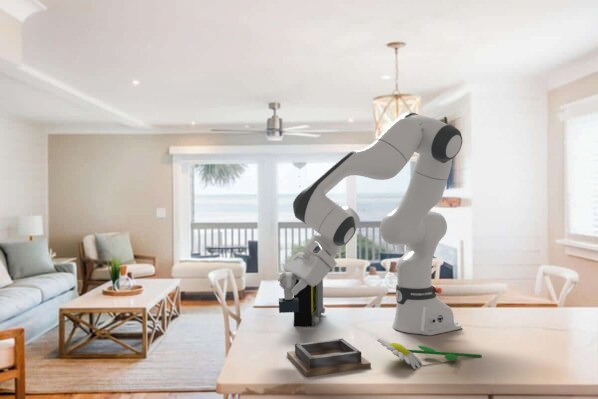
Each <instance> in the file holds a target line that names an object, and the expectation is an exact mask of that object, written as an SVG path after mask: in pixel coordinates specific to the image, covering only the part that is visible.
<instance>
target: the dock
mask: <svg viewBox="0 0 598 399" xmlns="http://www.w3.org/2000/svg"><path fill="white" fill-rule="evenodd" d="M286 356H287V357H288V359H289V360H290V361H291V362H292V363H293V365H295V366H296V367H297V368H298V370H299V371H300V372H301V373H302V374H303V375H304V376H305V378H307V377H314V376H321V375H329V373H330V374H335V373H336V372H337V373H342V372H350V371H357V370H365V369H369V368H371V367H372V364H371V361H369V360H368V359H366V358H364V357H363V356H362V351H360V350H359V349H358V348H357V347H355V346H353V345H352V344H350V343H349V342H348V341H347V340H345V339H344V338H335V339H326V340H320V341H319V340H318V341H311V342H304V343H295V345H294V350H291V351H286Z"/></svg>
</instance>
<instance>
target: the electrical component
mask: <svg viewBox="0 0 598 399" xmlns="http://www.w3.org/2000/svg"><path fill="white" fill-rule="evenodd" d="M323 282H324V278H323V279H322V280H321V281H320V282H319V283H318V284H317V285H316V286H314V287H312V286H310V285H307V286H306V287H305V288H303V289H302V290H300V291H299V292H298V293H297V294H296V295H294V294H293V298H298V301H299V312H293V327H296V328H297V327H300V328H313V327H315V325H316V324H319V323H320V316H321V315H322V314H325V313H326V308H325V306H324V283H323ZM297 283H299V280H298V279H296V283H295V285H296V284H297ZM295 285H294V286H295Z"/></svg>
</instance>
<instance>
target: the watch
mask: <svg viewBox="0 0 598 399" xmlns="http://www.w3.org/2000/svg"><path fill="white" fill-rule="evenodd" d="M277 281H278V282H279V284H281V286H282V287H281V286H280V287H281V289H283V294H284V295H283V296H284V298H282V297H281V298H278V313H280V314H281V313H282V314H285V313H286V314H288V313H294V312H299V301H298V298H294V294H292V293H291V292H290V289H291V288H292V287H293V286H294V285H295V283H296V276H295V275H294V274H293V272H286V271H284V272H282V273H281V274H280V276H279V278H278V279H277Z"/></svg>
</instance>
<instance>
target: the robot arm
mask: <svg viewBox="0 0 598 399" xmlns="http://www.w3.org/2000/svg"><path fill="white" fill-rule="evenodd" d="M462 145H463V137H462V133H461V131H460V130H459V129H458V128H456V127H455V126H454V125H452V124H447V123H445V122H443V121H441V120H439V119H437V118H434V117H429V116H424V115H420V114H418V113H415V112H405V113H402V114H401V115H399V116H398V117H397V119H396V120H394V121H392V123H391V124H389V125H388V126H387V127H386V128H385V129H384V130H383V131H382V132H381V133H380V135H378V136H377V138H376V139H375V140H374V141H373V142H372V143H371V144H370V145H368V146H366V147H365V148H363V149H359V150H358V149H354V150H352V151H350V152H348V153H347V154H346V155H344V156H343V157H341V159H340V160H338V161H337V162H336V163H335V164H333V165H332V167H330V169H328V170H327V171H326V172H324V174H323V175H321V176H319V178H318V179H317V180H315V181H314V182H313V183H312V184H310V185H309V186H307V187H306V188H305V189H303V190H301V192H299V194H298V195H297V196H296V197H295V199H294V200H293V202H292V209H293V214H294V217H295V219H297V220H299V221H301V222H302V223H303V224H306V225H308V226H309V227H310V228H311V229H312V230H314V231H315V232H316V233H315V234H313V236H311V238H310V239H308V241H307V242H306V244H305V245H304V246H303V247H302V250H303V251H299V252H297V253H296V254H294V255H293V257H291V259H290V260H289V261H288V262H287V263H286V264H285V265H284V268H283V271H284V272H293V274H294V275H295V276H296V279H298V280H299V283H297V284H296V285H295V286H293V287H292V288H291V289H290V292H291V293H292V294H293V296H294V295H296V294H297V293H298V292H299V291H300V290H302V289H303V288H305V287H306V286H307V285H310V286H312V287H314V286H316V285H317V284H318V283H319V282H320V281H321V280H322V279H323V280H324V278H325V277H326V276H327V275H328V274H329V272H330V271H331V270H334V268H335V267H336V266H337V265H338V264H337V261H336V260H335V258H336V256H337V254H338V253H339V251H340V250H341V249H342V248H343V247H344V246H345V245H347V244H348V243H349V242H350V241H351V239H353V237H354V235H355V234H356V231H357V229H358V227H359V226H360V223H361V219H360V216H359V215H358V213H357V212H356V211H355V210H354V209H353V208H351V207H350V206H346V205H343V206H340V205H339V204H337V203H336V202H334V201H333V200H332V199H330V198H329V197H328V196H327V194H328V193H329V192H330V191H331V190H332V189H333V188H335V187H336V186H337V185H338V184H339V183H340V182H341V181H343V180H344V179H345V178H347V177H350V176H360V177H363V178H364V177H365V178H368V179H373V180H377V181H383V180H384V181H385V180H390V179H393V178H394V177H396V176H397V175H398V174H399V173H401V171H402V170H403V169H404V167H406V165H407V164H408V163H409V161H410V159H411V158H412V157H413V155H414V153H417V154H418V156H417V159H416V162H415V165H414V167H413V171H412V174H411V178H410V180H409V183H408V187H407V189H406V191H405V193H404V195H403V197H402V198H401V199H400V201H399V202H398V204H397V205H396V206H395V208H394V209H393V210H392V211H390V212H389V213H388V214H387V215H385V216H384V217H383V218H382V220H381V222H380V225H379V232H380V236H381V237H382V239H383V241H384V242H385V243H387V244H389V245H395V246H407V247H406V250H405V252H404V254H403V255H402V256H401V257H400V258H399V259H398V261H397V265H396V266H397V267H396V268H397V272H396V273H397V274H396V276H397V283H396V286H395V297H396V298H395V299H396V308H395V316H394V321H393V323H392V327H393V329H394V330H396V331H399V332H403V333H407V334H408V333H409V334H417V335H418V334H419V335H424V336H434V335H438V334H443V333H446V332H447V333H448V332H452V331H457V330H461V329H462V325H461V323H459V322H458V321H456V320H455V317H454V313H453V310H452V308H451V306H449V305H447V304H446V303H445V302H444V301H442V300H441V299H440V298H438V297H437V294H439V295H441V294H442V293H443V288H441V287H438V286H436V287H435V286H433V285H432V271H433V270H432V266H433V259H434V255H435V252H436V249H437V247H438V245H439V244H440V241H441V240H442V239H443V238H444V237H445V236H446V234H447V230H448V223H447V220H446V218H445V216H443V214H441V213H439V212H436V211H431V210H433V208H434V207H436V205H438V204H439V203H440V202H441V200H442V198H443V195H444V193H445V190H446V186H447V184H448V180H449V177H450V173H451V171H452V170H451V169H452V166H453V159H454V158H456V156H457V155H458V154H459V152H460V150H461V148H462ZM278 286H280V288H282V286H281V284H280V283H279V285H278Z"/></svg>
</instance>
